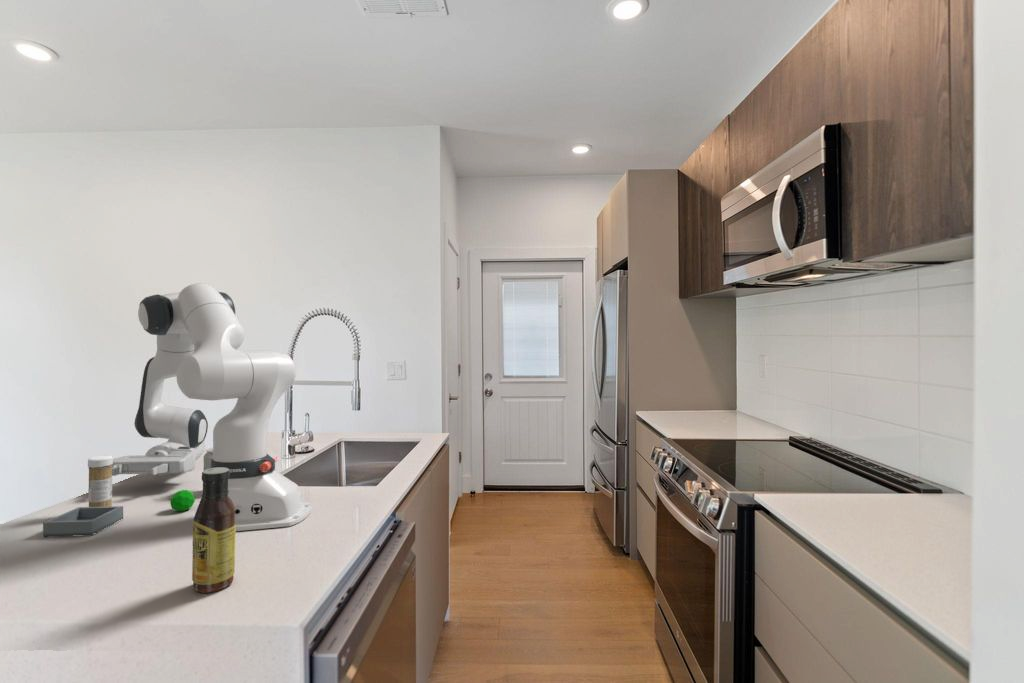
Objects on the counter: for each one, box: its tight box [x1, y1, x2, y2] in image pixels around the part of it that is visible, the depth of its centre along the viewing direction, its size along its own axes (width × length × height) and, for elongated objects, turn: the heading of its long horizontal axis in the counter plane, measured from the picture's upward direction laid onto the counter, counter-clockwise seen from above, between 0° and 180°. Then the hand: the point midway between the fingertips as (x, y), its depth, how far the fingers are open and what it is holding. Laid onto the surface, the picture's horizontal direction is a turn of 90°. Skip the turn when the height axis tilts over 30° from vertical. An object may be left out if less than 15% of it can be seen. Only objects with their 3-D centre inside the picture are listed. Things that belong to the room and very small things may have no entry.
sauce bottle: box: [191, 467, 236, 594], centre depth 85 cm, size 6×6×20 cm
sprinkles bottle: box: [87, 455, 114, 507], centre depth 119 cm, size 5×5×14 cm
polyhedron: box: [169, 489, 196, 512], centre depth 121 cm, size 5×5×5 cm
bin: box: [42, 505, 124, 537], centre depth 110 cm, size 10×10×3 cm
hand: (131, 472), depth 129 cm, fingers open, 8 cm apart
